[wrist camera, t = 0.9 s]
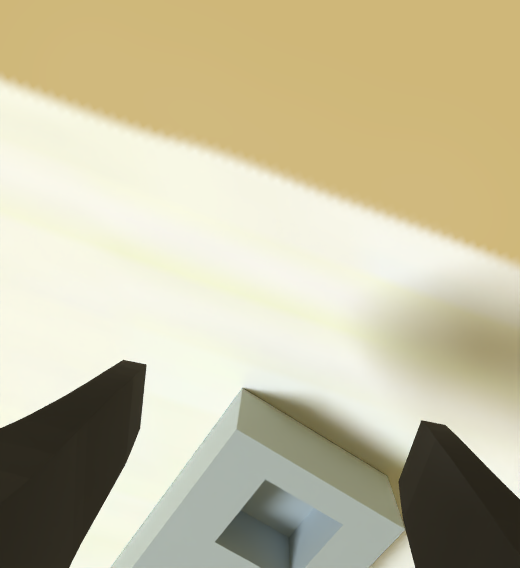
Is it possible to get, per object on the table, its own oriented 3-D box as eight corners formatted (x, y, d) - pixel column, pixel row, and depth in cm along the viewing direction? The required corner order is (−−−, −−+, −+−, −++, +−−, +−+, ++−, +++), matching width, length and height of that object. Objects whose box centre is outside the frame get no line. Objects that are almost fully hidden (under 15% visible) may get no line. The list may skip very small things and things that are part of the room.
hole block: (224, 657, 28) (216, 727, 25) (94, 590, 27) (67, 653, 23) (387, 476, 24) (405, 529, 21) (242, 387, 23) (236, 429, 19)
